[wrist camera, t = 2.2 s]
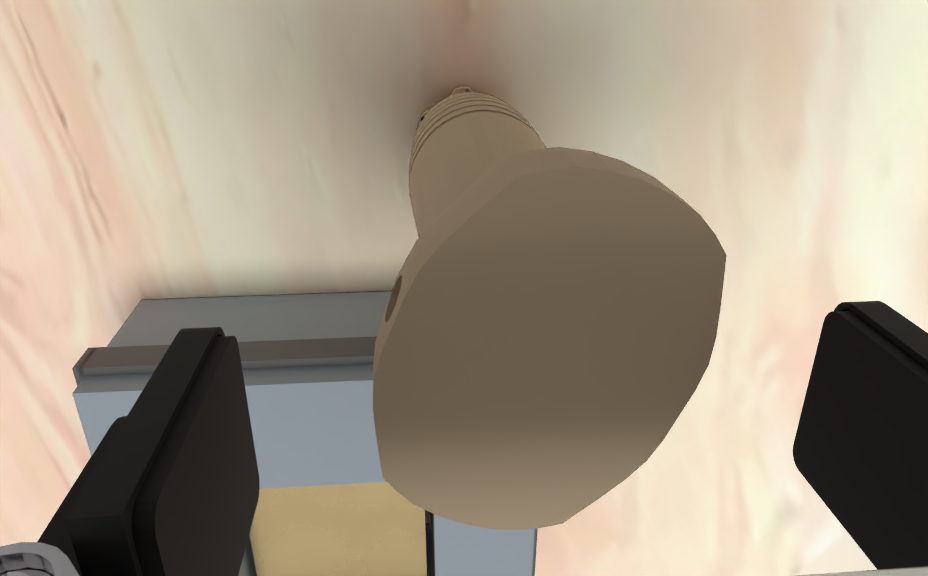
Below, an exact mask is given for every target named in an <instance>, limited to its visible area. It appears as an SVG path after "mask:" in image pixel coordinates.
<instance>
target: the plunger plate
mask: <svg viewBox="0 0 928 576" xmlns="http://www.w3.org/2000/svg"><path fill="white" fill-rule="evenodd" d="M249 535H250V540H251V545H252V551H253V556H254V562H255V567H256V572H257V576H427V562H426V530H425V510H424V509H422V508H420V507H418V506H416V505H414V504H413V503H411V502H410V501H409V500H407V499H406V498H405V497H403V496H402V495H401V494H399V493H398V492H397V491H396V490H395V489H394V488H393V487H392V486H391V485H390V484H389V483H388V482H375V483H357V484H338V485H320V486H302V487H284V488H266V489H259V499H258V503H257V507H256V511H255V515H254V518H253V522H252V526H251V529H250V533H249Z"/></svg>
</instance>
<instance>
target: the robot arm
mask: <svg viewBox="0 0 928 576" xmlns="http://www.w3.org/2000/svg"><path fill="white" fill-rule="evenodd" d="M793 457H794V461H795V464H796V466H797V468H798V470H799V471H800V472H801V474H802V475H803V476H804V477H805V479H806V480H807V481H808V483H809V484H810V485H811V486H812V488H813V489H814V490H815V491H816V493H817V494H818V495H819V496H820V498H821V499H822V500H823V501H824V503H825V504H826V505H827V506H828V508H829V509H830V510H831V512H832V513H833V514H834V515H835V517H836V518H837V519H838V520H839V522H840V523H841V524H842V525H843V527H844V528H845V529H846V530H847V532H848V533H849V534H850V535H851V537H852V538H853V539H854V540H855V542H856V543H857V544H858V546H859V547H860V548H861V549H862V551H863V552H864V553H865V554H866V556H867V557H868V558H869V559H870V561H871V562H872V563H873V564H874V566H875V567H876V568H877V570H867V571H853V572H839V573H826V574H811V575H796V576H928V333H927V332H925V331H924V330H922V329H921V328H919V327H918V326H916V325H915V324H914V323H912V322H911V321H909V320H908V319H906V318H905V317H903V316H902V315H901V314H899V313H898V312H896V311H895V310H893V309H892V308H890V307H889V306H888V305H886V304H885V303H882V302H880V301H868V302H843V303H841V304H839V305H838V306H837V307H836V308H835V310H834V312H830V313H828V315H827V316H826V317H825V320H824V323H823V327H822V331H821V335H820V339H819V343H818V347H817V351H816V355H815V359H814V364H813V368H812V372H811V376H810V380H809V384H808V388H807V392H806V396H805V400H804V404H803V408H802V412H801V417H800V421H799V425H798V429H797V433H796V437H795V441H794V445H793ZM259 489H260V481H259V472H258V466H257V459H256V453H255V447H254V441H253V434H252V428H251V422H250V415H249V409H248V403H247V396H246V390H245V384H244V377H243V371H242V365H241V359H240V352H239V346H238V341H237V339H236V337H235V336H225V334H224V332H223V329H222V328H221V327H208V328H183V329H181V330H180V331H179V332H178V333H177V335H176V337H175V338H174V340H173V342H172V343H171V345H170V346H169V348H168V350H167V351H166V353H165V355H164V356H163V358H162V360H161V361H160V363H159V364H158V366H157V368H156V369H155V371H154V373H153V374H152V376H151V378H150V379H149V381H148V382H147V384H146V386H145V387H144V389H143V391H142V392H141V394H140V396H139V397H138V399H137V401H136V402H135V404H134V405H133V407H132V409H131V410H130V412H129V414H128V415H127V416H122V417H119V418H117V419H116V420H115V421H114V423H113V424H112V425H111V426H110V428H109V430H108V431H107V433H106V434H105V436H104V437H103V439H102V441H101V442H100V444H99V445H98V447H97V449H96V450H95V452H94V453H93V455H92V456H91V458H90V460H89V461H88V463H87V464H86V466H85V467H84V469H83V471H82V472H81V474H80V475H79V477H78V479H77V480H76V482H75V483H74V485H73V486H72V488H71V490H70V491H69V493H68V494H67V496H66V498H65V499H64V501H63V502H62V504H61V505H60V507H59V509H58V510H57V512H56V513H55V515H54V517H53V518H52V520H51V521H50V523H49V524H48V526H47V528H46V529H45V531H44V532H43V534H42V535H41V537H40V539H39V540H38V542H21V543H16V544H11V545H6V546H1V547H0V576H238V574H239V571H240V567H241V563H242V559H243V556H244V552H245V548H246V544H247V541H248V537H249V533H250V529H251V526H252V522H253V518H254V515H255V511H256V507H257V503H258V499H259Z"/></svg>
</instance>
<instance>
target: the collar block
mask: <svg viewBox="0 0 928 576" xmlns="http://www.w3.org/2000/svg"><path fill="white" fill-rule="evenodd" d="M391 293H392V291H378V292H350V293H322V294H293V295H265V296H237V297H208V298H180V299H152V300H141V301H140V302H139V304H138V305H137V306H136V308H135V309H134V310H133V312H132V313H131V315H130V316H129V317H128V319H127V320H126V321H125V323H124V324H123V325H122V327H121V328H120V330H119V331H118V332H117V334H116V335H115V336H114V338H113V339H112V340H111V342H110V343H109V344H108V346H107V347H99V348H88V349H87V350H86V352H85V353H84V354H83V356H82V357H81V358H80V359H79V361H78V362H77V363H76V365H75V366H74V367H73V368H72V369H73V372H74V376H75V379H76V382H77V386H78V387H77V388H76V389H75V391H74V392H73V397H74V400H75V403H76V407H77V410H78V413H79V417H80V420H81V423H82V427H83V430H84V433H85V436H86V440H87V443H88V446H89V450H90V453H91V456H92V455H93V453H94V452H95V450H96V449H97V447H98V445H99V444H100V442H101V441H102V439H103V437H104V436H105V434H106V433H107V431H108V430H109V428H110V426H111V425H112V424H113V423H114V421H115V420H116V419H117V418H119V417H122V416H127V415H128V414H129V412H130V410H131V409H132V407H133V405H134V404H135V402H136V401H137V399H138V397H139V396H140V394H141V392H142V391H143V389H144V387H145V386H146V384H147V382H148V381H149V379H150V378H151V376H152V374H153V373H154V371H155V369H156V368H157V366H158V364H159V363H160V361H161V360H162V358H163V356H164V355H165V353H166V351H167V350H168V348H169V346H170V345H171V343H172V342H173V340H174V338H175V337H176V335H177V333H178V332H179V331H180V330H181V329H183V328H208V327H221V328H222V329H223V332H224V334H225V336H235V337H236V339H237V341H238V346H239V352H240V359H241V365H242V371H243V377H244V384H245V390H246V396H247V403H248V409H249V415H250V422H251V428H252V434H253V441H254V447H255V453H256V459H257V466H258V472H259V481H260V489H266V488H284V487H302V486H320V485H338V484H357V483H375V482H387V481H386V480H385V479H384V478H383V477H382V471H381V465H380V458H379V452H378V446H377V439H376V431H375V423H374V415H373V361H374V350H375V342H376V338H377V334H378V331H379V327H380V324H381V321H382V318H383V315H384V312H385V309H386V306H387V304H388V301H389V298H390V295H391ZM425 530H426V562H427V576H534V574H535V559H536V543H537V528H534V529H525V530H503V529H489V528H484V527H478V526H473V525H467V524H462V523H459V522H456V521H453V520H450V519H447V518H443V517H440V516H437V515H435V514H433V513H431V524H425ZM238 576H257V572H256V567H255V562H254V556H253V551H252V545H251V540H250V535H249V537H248V541H247V544H246V548H245V552H244V556H243V559H242V563H241V567H240V571H239V574H238Z"/></svg>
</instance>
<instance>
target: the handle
mask: <svg viewBox="0 0 928 576" xmlns="http://www.w3.org/2000/svg"><path fill="white" fill-rule="evenodd" d="M409 192H410V200H411V205H412V209H413V214H414V218H415V223H416V227H417V232H418V236H419V239H418V240H417V241H416V243H415V245H414V247H413V248H412V250H411V252H410V254H409V255H408V257H407V259H406V261H405V263H404V265H403V267H402V269H401V271H400V273H399V275H398V277H397V279H396V281H395V284H394V287H393V290H392V293H391V295H390V298H389V301H388V304H387V306H386V309H385V312H384V315H383V318H382V321H381V324H380V327H379V331H378V334H377V338H376V342H375V350H374V361H373V415H374V423H375V431H376V439H377V446H378V452H379V458H380V465H381V471H382V477H383V478H384V479H385V480H386V481H387V482H388V483H389V484H390V485H391V486H392V487H393V488H394V489H395V490H396V491H397V492H398V493H399V494H401V495H402V496H403V497H405V498H406V499H407V500H409V501H410V502H411V503H413V504H414V505H416V506H418V507H420V508H422V509H424V510H427V511H429V512H431V513H433V514H435V515H437V516H440V517H443V518H447V519H450V520H453V521H456V522H459V523H462V524H467V525H473V526H478V527H484V528H489V529H503V530H525V529H534V528H542V527H547V526H552V525H556V524H561V523H564V522H565V521H567V520H568V519H570V518H571V517H572V516H574V515H575V514H577V513H578V512H580V511H581V510H583V509H584V508H586V507H587V506H588V505H590V504H591V503H593V502H594V501H596V500H597V499H599V498H600V497H601V496H603V495H604V494H606V493H607V492H608V491H610V490H611V489H613V488H614V487H615V486H617V485H618V484H620V483H621V482H622V481H624V480H625V479H626V478H627V477H629V476H630V475H631V474H632V473H633V472H634V471H635V470H637V469H638V468H639V467H640V466H641V465H642V464H643V463H645V462H646V461H647V460H648V458H649V457H650V456H651V455H652V453H653V452H654V451H655V449H656V448H657V447H658V446H659V444H660V443H661V442H662V441H663V439H664V438H665V436H666V435H667V433H668V432H669V430H670V429H671V427H672V426H673V424H674V422H675V421H676V419H677V418H678V416H679V415H680V413H681V412H682V410H683V409H684V407H685V405H686V404H687V402H688V401H689V399H690V398H691V396H692V395H693V393H694V392H695V390H696V388H697V386H698V384H699V382H700V380H701V378H702V376H703V374H704V372H705V371H706V369H707V367H708V365H709V361H710V358H711V354H712V350H713V347H714V343H715V339H716V334H717V327H718V320H719V313H720V306H721V298H722V289H723V280H724V271H725V262H726V254H725V252H724V250H723V248H722V246H721V244H720V242H719V241H718V239H717V237H716V235H715V234H714V232H713V231H712V230H711V229H710V227H709V226H708V225H707V223H706V222H705V221H704V219H703V218H702V217H701V216H700V215H699V214H698V213H697V212H696V211H695V210H694V209H693V208H692V207H691V206H689V205H688V204H687V203H686V202H685V201H684V200H682V199H681V198H680V197H679V196H678V195H676V194H675V193H674V192H673V191H671V190H670V189H669V188H667V187H666V186H665V185H663V184H662V183H661V182H660V181H658V180H657V179H656V178H654V177H652V176H651V175H649V174H647V173H645V172H643V171H641V170H639V169H637V168H635V167H633V166H631V165H629V164H627V163H625V162H623V161H621V160H617V159H614V158H611V157H608V156H604V155H601V154H598V153H595V152H591V151H584V150H576V149H569V148H561V147H557V148H546V146H545V145H544V143H543V142H542V140H541V139H540V137H539V136H538V134H537V133H536V131H535V130H534V129H533V127H532V126H531V125H530V124H529V122H528V121H527V120H526V119H525V118H524V117H523V116H522V115H521V114H520V113H518V112H517V111H516V110H515V109H513V108H512V107H511V106H509V105H508V104H507V103H505V102H503V101H501V100H500V99H497V98H495V97H493V96H490V95H487V94H482V93H475V92H473V90H472V89H471V88H470V87H456V88H454V89H453V92H452V93H451V95H450V96H449V97H447V98H445V99H444V100H442V101H440V102H439V103H438V104H436V105H435V106H434V107H433V108H432V109H426V110H425V111H424V112H423V114H422V115H421V117H420V119H419V122H418V126H417V132H416V136H415V139H414V142H413V146H412V152H411V159H410V166H409Z"/></svg>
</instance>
